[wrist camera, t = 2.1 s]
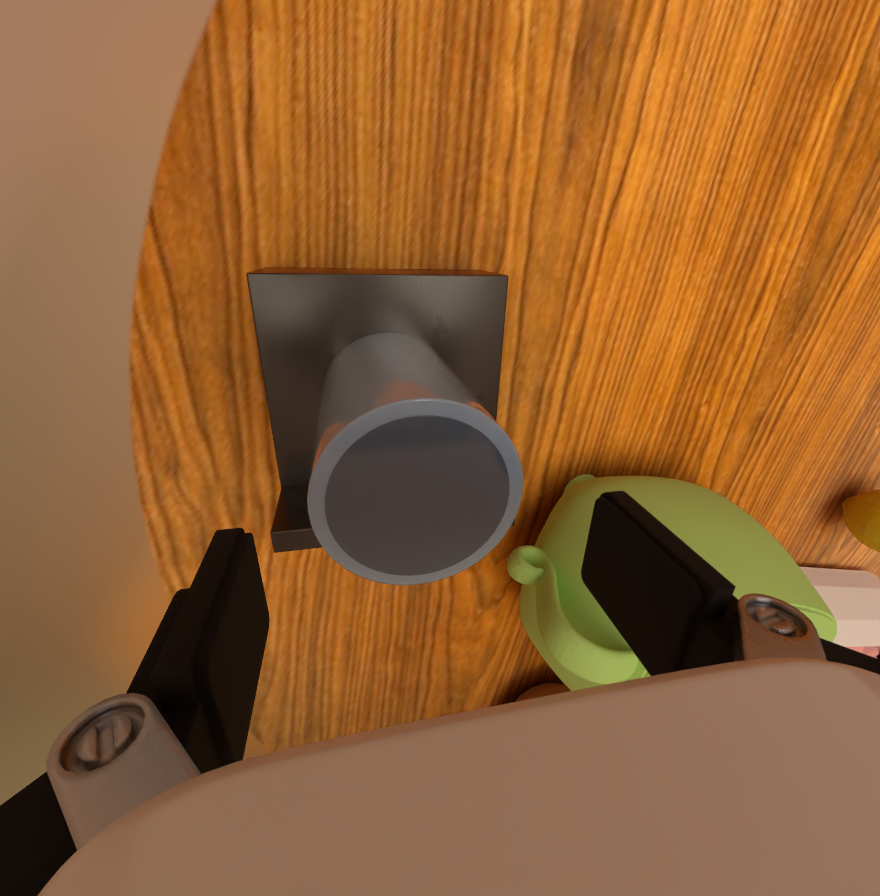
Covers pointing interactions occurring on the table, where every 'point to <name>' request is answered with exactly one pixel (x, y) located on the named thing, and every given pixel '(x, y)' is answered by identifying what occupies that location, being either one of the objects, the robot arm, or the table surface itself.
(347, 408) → the blue cup
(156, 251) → the table surface
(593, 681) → the teapot
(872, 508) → the fruit
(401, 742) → the robot arm
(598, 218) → the table surface
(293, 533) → the shelf
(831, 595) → the crystal
